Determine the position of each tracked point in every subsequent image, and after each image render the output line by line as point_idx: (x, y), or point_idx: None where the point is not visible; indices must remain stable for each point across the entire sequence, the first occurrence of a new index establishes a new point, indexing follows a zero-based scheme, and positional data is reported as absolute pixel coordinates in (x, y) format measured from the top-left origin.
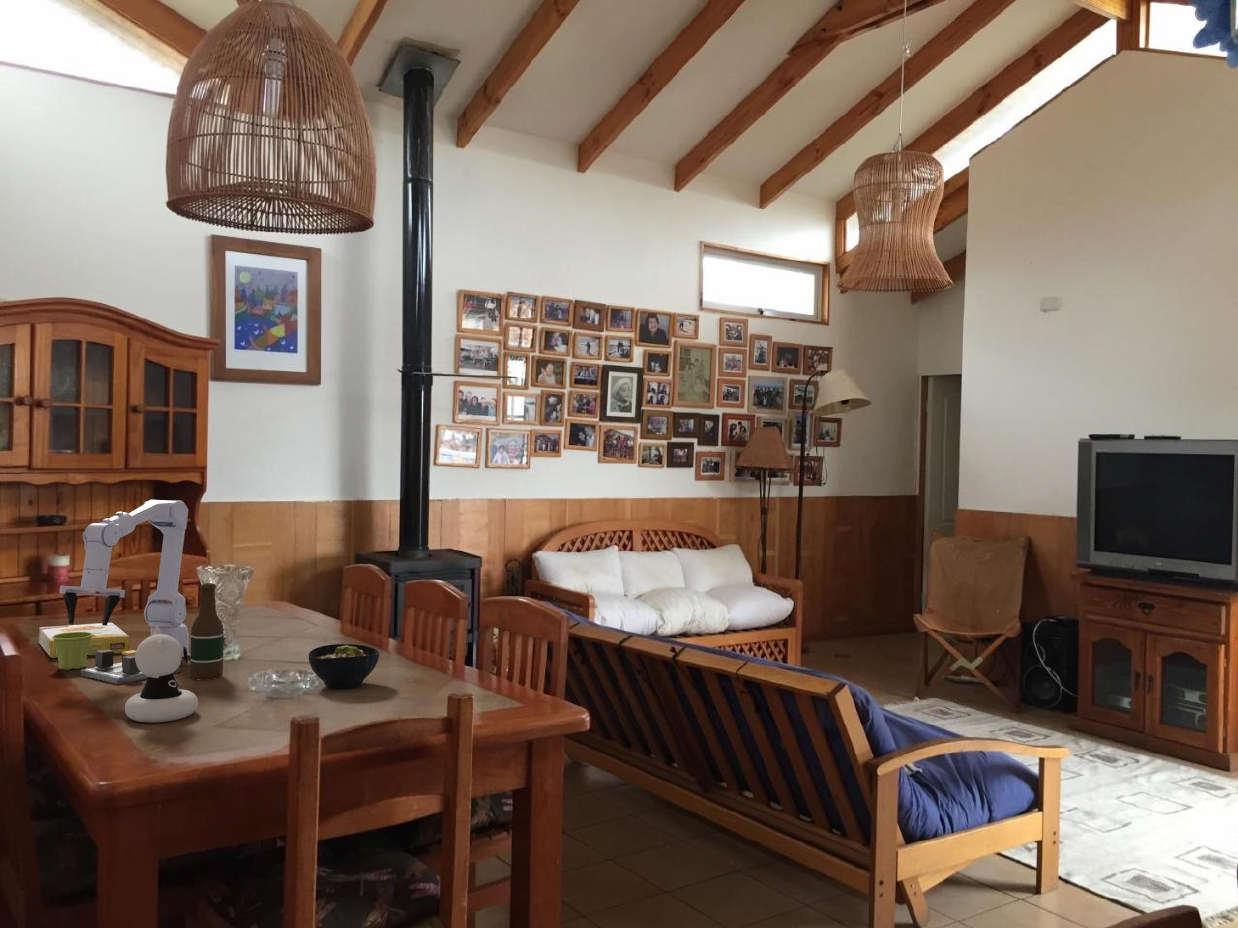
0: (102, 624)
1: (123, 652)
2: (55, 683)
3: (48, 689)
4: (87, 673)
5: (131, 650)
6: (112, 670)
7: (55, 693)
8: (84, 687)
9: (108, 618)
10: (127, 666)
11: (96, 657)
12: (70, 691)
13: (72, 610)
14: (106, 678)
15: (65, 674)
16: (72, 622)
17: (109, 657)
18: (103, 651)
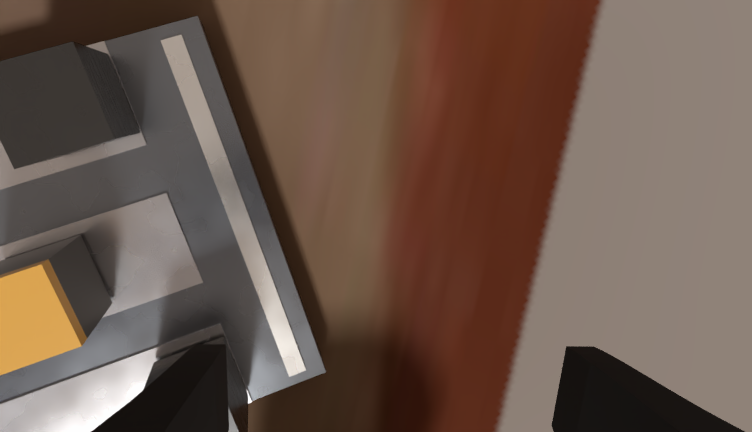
0: (226, 427)
1: (74, 327)
2: (458, 239)
3: (514, 120)
4: (303, 309)
5: (1, 370)
6: (178, 259)
7: (512, 3)
8: (368, 57)
9: (160, 382)
10: (104, 74)
11: (243, 416)
12: (446, 2)
13: (713, 426)
14: (239, 129)
15: (374, 421)
16: (586, 348)
17: None
18: None
